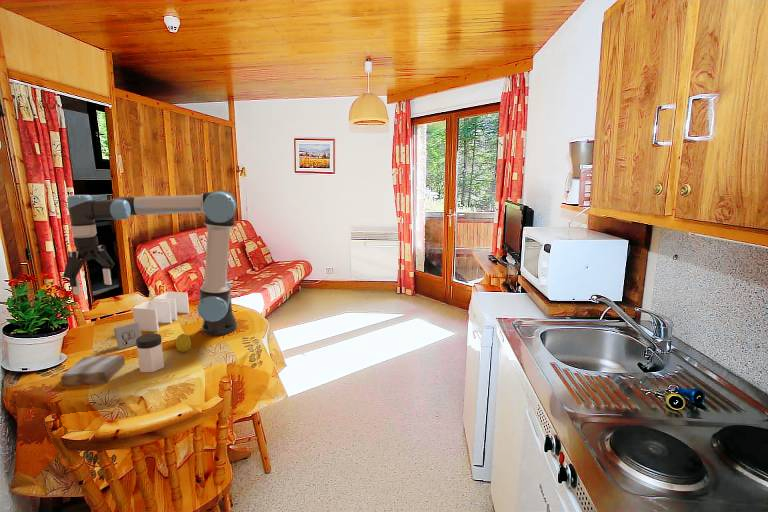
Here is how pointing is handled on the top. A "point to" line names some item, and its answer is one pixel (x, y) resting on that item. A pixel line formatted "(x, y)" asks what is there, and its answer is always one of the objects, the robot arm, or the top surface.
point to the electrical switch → (127, 335)
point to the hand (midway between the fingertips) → (93, 289)
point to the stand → (93, 370)
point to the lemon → (183, 342)
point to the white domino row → (160, 310)
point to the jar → (150, 352)
